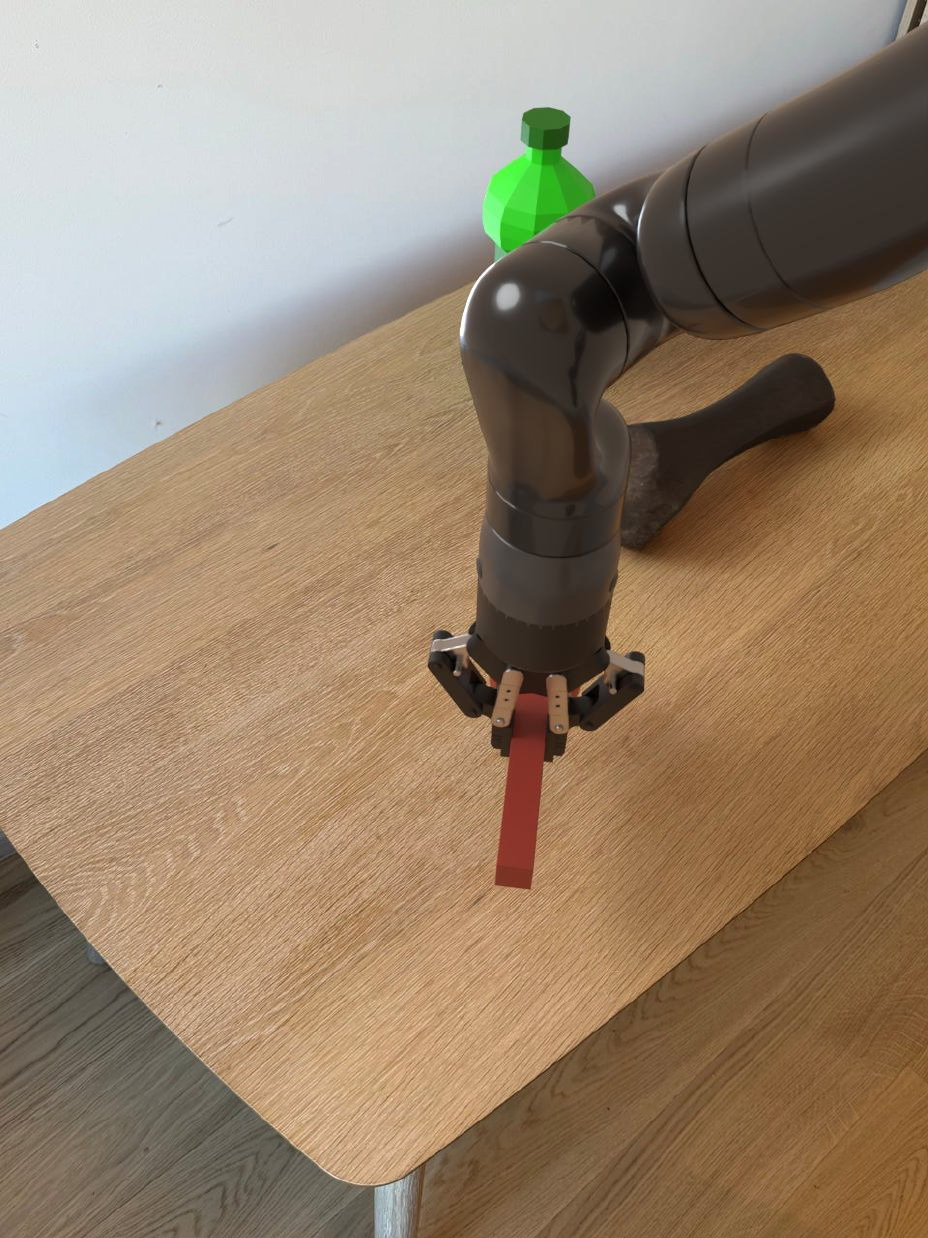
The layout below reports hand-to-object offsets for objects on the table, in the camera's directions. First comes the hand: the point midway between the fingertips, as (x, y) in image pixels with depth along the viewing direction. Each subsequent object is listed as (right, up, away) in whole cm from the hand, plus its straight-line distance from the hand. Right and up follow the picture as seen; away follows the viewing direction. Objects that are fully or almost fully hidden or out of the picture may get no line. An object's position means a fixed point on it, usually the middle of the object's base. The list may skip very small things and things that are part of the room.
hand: (527, 748), depth 73 cm
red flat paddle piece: (0, 0, 0) cm, 1 cm away
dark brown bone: (+17, +22, +30) cm, 41 cm away
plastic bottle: (+2, +35, +40) cm, 54 cm away
